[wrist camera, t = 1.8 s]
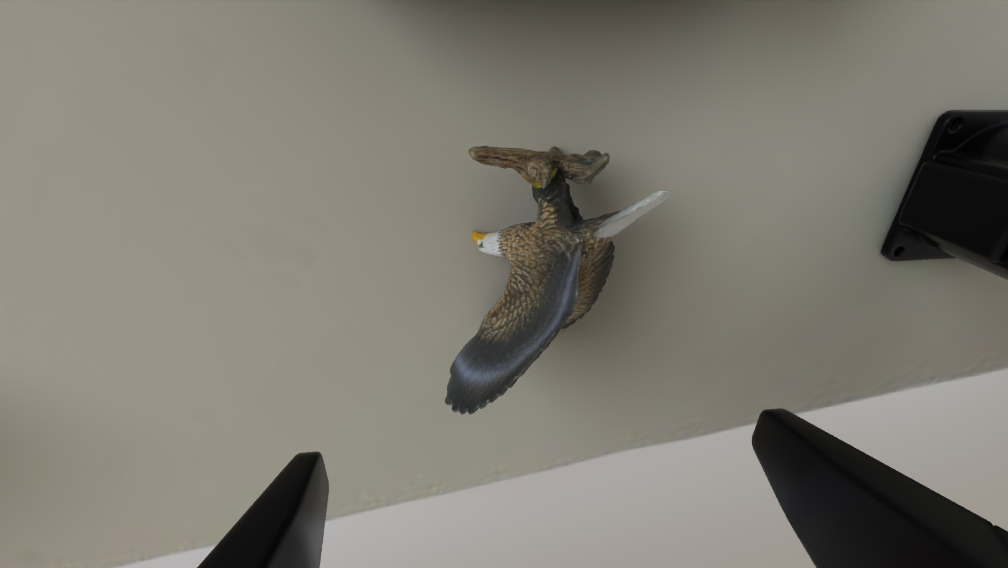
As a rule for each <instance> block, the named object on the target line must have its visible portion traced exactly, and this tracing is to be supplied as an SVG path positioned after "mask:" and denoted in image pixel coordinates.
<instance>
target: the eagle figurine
mask: <svg viewBox="0 0 1008 568" xmlns="http://www.w3.org/2000/svg"><path fill="white" fill-rule="evenodd" d="M469 154H470V156H471V157H472V159H473V160H476V161H478V162H480V163H482V164H485V165H492V166H499V167H501V168H504V169H505V168H514V169H515V170H516V171H517V172H518V173H519V174H521V175H522V177H523V178H524V179H525V180H526V181H527V182H529V183H531V184H532V186H533V187H532V190H533V197H534V199H535V201H536V202H537V204H538V206H539V210H538V215H537V221H536V222H530V223H523V224H518V225H513V226H510V227H508V228H506V229H503V230H501V231H498V232H493V233H485V234H482V233H477V232H475V231H472V233H471V237H472V239H473V240H474V242H475V243H476V244H477V245H478V249H479V250H480V251H482V252H484V253H486V254H489V255H494V256H499V257H505V258H508V259H509V261H510V265H511V270H510V275H509V279H508V284H507V287H506V289H505V292H504V293H503V295H502V297H501V298H500V299H499V301H498V302H497V303H496V305H495V306H494V307H493V308H492V309H491V310H490V311H489V313H488V314H487V315H486V316H485V318H484V320H483V322H482V324H481V326H480V329H479V331H478V333H477V334H476V336H475V337H473V338H472V339H471V340H470V341H468V343H467V344H466V345H465V346H464V347H463V349H462V350H461V351H460V353H459V354H458V355H457V357H456V359H455V360H454V362H453V364H452V366H451V369H450V373H451V378H450V380H449V383H448V385H447V397H446V399H445V402H446V404H447V405H452V410H453V412H458V411H459V412H460V413H461V414H462V415H463V414H465V413H466V412H467V411H468V413H469V414H470V415H471V414H472V413H474V412H475V411H476V410H477V409H478V408H480V409H482V408H484V407H485V406H486V405H487V404H488V403H492V402H493V401H494V400H496V398H497V397H498V396H502V395H503V394H504V393H505V392H506V391H507V389H508V388H511V387H512V386H513V385H514V384H515V382H516V381H517V379H518V378H519V377H521V376H522V375H523V374H524V373H525V371H526V370H527V369H528V368H529V367H530V365H531V364H532V363H533V362H534V361H535V360H536V359H537V358H538V357H539V356H540V354H541V353H542V352H543V350H544V349H546V348H547V347H548V346H549V344H550V343H551V341H552V340H553V339H554V338H555V337H556V335H557V333H558V332H559V330H560V329H565V328H567V327H568V326H569V325H572V324H574V323H575V322H576V320H577V319H580V318H582V317H583V316H584V314H585V313H587V312H589V310H590V309H591V306H592V305H593V304H594V303H595V301H596V300H597V298H598V295H599V293H600V292H601V290H602V287H603V286H604V285H605V283H606V278H607V276H608V275H609V272H610V269H611V267H612V261H613V258H614V255H613V253H614V248H615V247H614V245H613V242H612V241H610V240H611V239H613V238H614V237H615V236H616V235H617V234H618V233H619V232H620V231H622V230H623V229H624V228H626V227H627V226H628V225H630V224H631V223H633V222H634V221H635V220H637V219H638V218H639V217H641V216H642V215H644V214H645V213H647V212H648V211H650V210H651V209H653V208H654V207H655V206H657V205H658V204H660V203H661V202H662V201H664V200H665V199H667V198H668V197H669V196H670V195H671V192H669V191H657V192H655V193H653V194H651V195H649V196H648V197H646V198H644V199H643V200H641V201H639V202H636V203H634V204H632V205H630V206H629V207H627V208H625V209H624V210H622V211H618V212H615V213H610V214H604V215H602V216H600V217H597V218H592V219H588V220H583V218H582V217H581V216H580V214H579V209H578V208H577V207H576V206H574V203H573V201H572V198H571V196H570V191H569V190H570V187H569V184H567V183H566V181H565V178H568V179H570V180H572V181H574V182H576V183H578V184H582V185H588V184H590V183H591V182H592V180H593V178H594V177H595V176H596V175H597V174H598V173H599V172H600V171H602V170H603V169H604V168H605V166H606V165H607V164H608V162H609V154H608V153H605V154H603V155H602V154H601V153H600V152H599V151H596V150H591V151H588V152H587V153H586V154H584V155H579V154H572V155H561V152H560V150H559V148H557V147H552V148H551V149H550V151H549V152H536V151H532V150H525V149H515V148H498V147H488V146H481V147H472V148H470V149H469ZM593 162H594V163H593ZM609 241H610V242H609Z"/></svg>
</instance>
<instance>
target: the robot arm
mask: <svg viewBox="0 0 1008 568" xmlns="http://www.w3.org/2000/svg"><path fill="white" fill-rule="evenodd" d="M951 123H952V124H951ZM881 254H882V255H883V256H884V257H886V258H888V259H890V260H892V261H902V260H922V259H942V258H958V259H961V260H963V261H965V262H968V263H970V264H972V265H975V266H977V267H979V268H981V269H984V270H986V271H988V272H991V273H993V274H995V275H998V276H1000V277H1002V278H1005V279H1007V280H1008V110H951V111H947V112H945V113H944V114H942V115H941V116H940V117H939V118H938V120H937V122H936V124H935V126H934V128H933V131H932V133H931V135H930V138H929V140H928V142H927V144H926V147H925V149H924V151H923V154H922V156H921V158H920V161H919V163H918V165H917V168H916V170H915V172H914V175H913V177H912V179H911V182H910V184H909V186H908V189H907V191H906V193H905V196H904V198H903V200H902V202H901V205H900V207H899V209H898V212H897V214H896V216H895V219H894V221H893V223H892V226H891V228H890V230H889V233H888V235H887V237H886V240H885V242H884V244H883V247H882V250H881ZM752 446H753V449H754V451H755V453H756V455H757V458H758V459H759V462H760V464H761V466H762V468H763V470H764V472H765V474H766V476H767V478H768V480H769V482H770V485H771V486H772V489H773V491H774V493H775V495H776V497H777V499H778V501H779V503H780V505H781V507H782V509H783V511H784V513H785V515H786V517H787V519H788V521H789V522H790V524H791V526H792V528H793V529H794V531H795V533H796V534H797V536H798V538H799V539H800V541H801V543H802V544H803V546H804V548H805V549H806V551H807V553H808V554H809V556H810V558H811V559H812V561H813V563H814V565H815V566H816V568H1008V532H1007V531H1006V530H1004V529H1002V528H1000V527H999V526H995V525H994V526H993V525H992V523H991V522H989V521H987V520H986V519H984V518H982V517H980V516H978V515H976V514H975V513H973V512H971V511H969V510H967V509H965V508H964V507H962V506H960V505H958V504H956V503H955V502H953V501H951V500H949V499H947V498H945V497H944V496H942V495H940V494H938V493H936V492H935V491H933V490H931V489H929V488H927V487H926V486H924V485H922V484H920V483H918V482H916V481H915V480H913V479H911V478H909V477H907V476H905V475H903V474H902V473H900V472H898V471H896V470H895V469H893V468H891V467H889V466H887V465H885V464H884V463H882V462H880V461H878V460H876V459H874V458H873V457H871V456H869V455H867V454H865V453H864V452H862V451H860V450H858V449H856V448H854V447H853V446H851V445H849V444H847V443H845V442H843V441H841V440H840V439H838V438H836V437H834V436H833V435H831V434H829V433H827V432H825V431H823V430H821V429H820V428H818V427H816V426H814V425H813V424H811V423H809V422H807V421H805V420H803V419H802V418H800V417H798V416H796V415H794V414H793V413H791V412H789V411H787V410H785V409H780V408H779V409H768V410H764V411H763V412H761V414H760V416H759V419H758V422H757V425H756V427H755V430H754V433H753V436H752ZM328 493H329V483H328V477H327V473H326V469H325V465H324V461H323V457H322V455H321V453H320V452H306V453H299V454H297V455H296V456H295V457H294V458H293V459H292V460H291V461H290V462H289V463H288V465H287V466H286V467H285V468H284V469H283V470H282V471H281V473H280V474H279V475H278V476H277V477H276V478H275V479H274V481H273V482H272V483H271V484H270V485H269V486H268V487H267V489H266V490H265V491H264V492H263V493H262V494H261V495H260V497H259V498H258V499H257V500H256V501H255V502H254V503H253V505H252V506H251V507H250V508H249V509H248V510H247V511H246V513H245V514H244V515H243V516H242V517H241V518H240V519H239V521H238V522H237V523H236V524H235V525H234V526H233V527H232V529H231V530H230V531H229V532H228V533H227V534H226V535H225V537H224V538H223V539H222V540H221V541H220V542H219V543H218V545H217V546H216V547H215V548H214V549H213V550H212V551H211V553H210V554H209V555H208V556H207V557H206V558H205V560H204V561H203V562H202V563H201V564H200V565H199V566H198V567H197V568H319V566H320V559H321V551H322V543H323V535H324V526H325V518H326V510H327V502H328Z"/></svg>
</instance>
